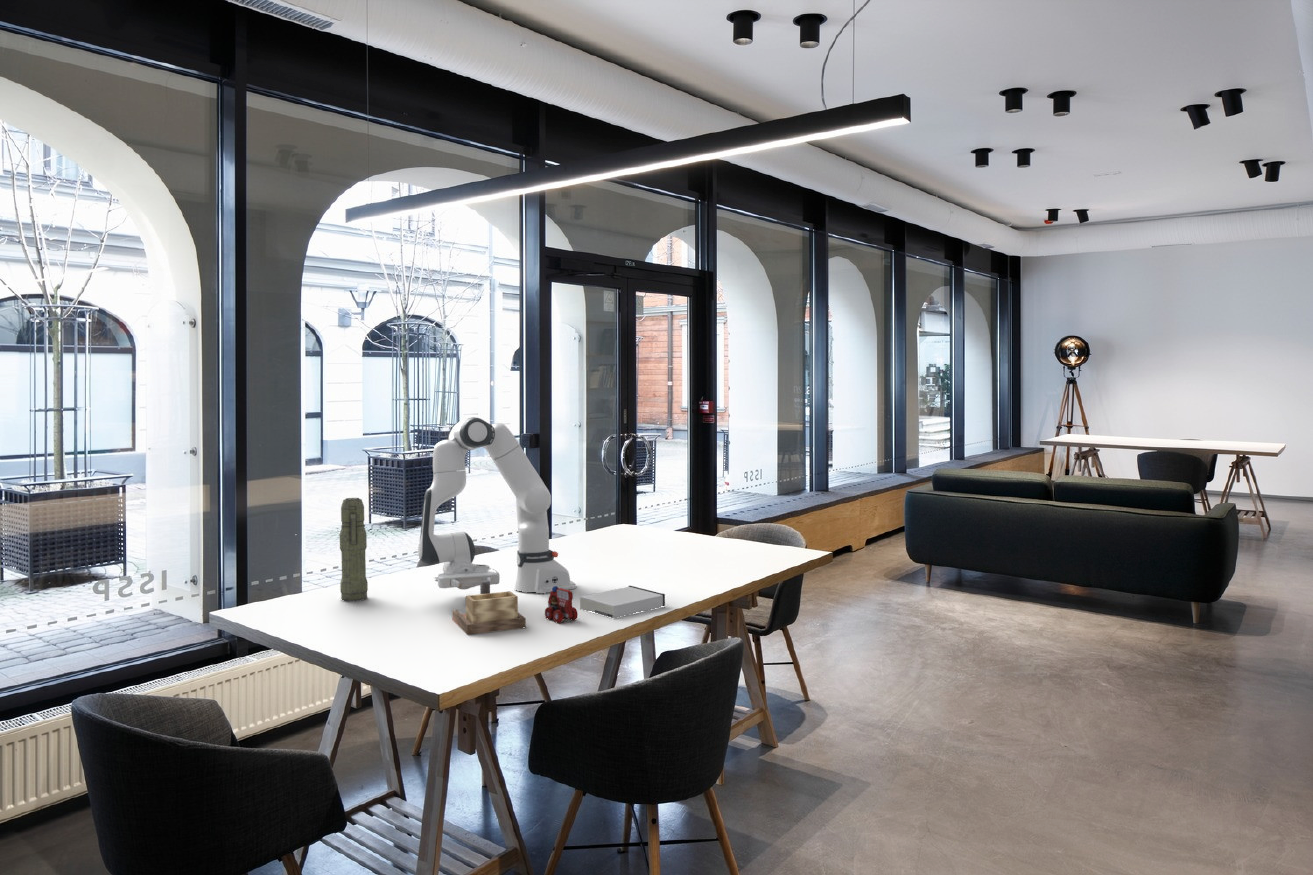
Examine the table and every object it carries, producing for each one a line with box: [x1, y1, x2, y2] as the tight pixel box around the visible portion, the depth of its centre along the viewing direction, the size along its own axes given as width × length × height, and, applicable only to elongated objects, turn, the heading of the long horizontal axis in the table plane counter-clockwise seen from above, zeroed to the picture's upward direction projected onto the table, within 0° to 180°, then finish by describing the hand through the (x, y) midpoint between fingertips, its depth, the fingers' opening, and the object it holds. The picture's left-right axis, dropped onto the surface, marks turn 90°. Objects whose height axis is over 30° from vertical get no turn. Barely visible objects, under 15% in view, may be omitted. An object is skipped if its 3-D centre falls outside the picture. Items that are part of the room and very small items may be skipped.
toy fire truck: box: [544, 586, 579, 624], centre depth 284 cm, size 7×12×10 cm, turn 38°
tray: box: [451, 609, 527, 636], centre depth 279 cm, size 18×19×3 cm
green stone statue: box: [339, 497, 369, 602], centre depth 312 cm, size 9×12×35 cm
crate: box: [465, 581, 519, 623], centre depth 278 cm, size 14×13×11 cm
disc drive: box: [579, 585, 666, 619], centre depth 299 cm, size 18×22×5 cm
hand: (474, 583), depth 292 cm, fingers open, 8 cm apart
